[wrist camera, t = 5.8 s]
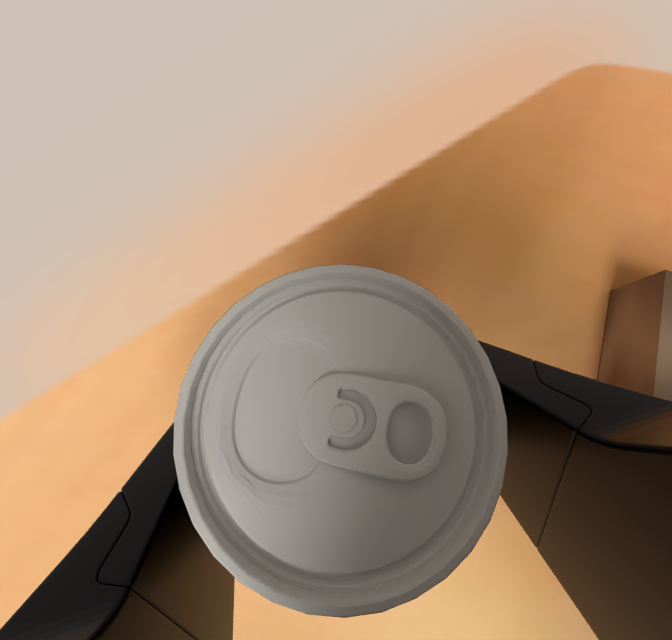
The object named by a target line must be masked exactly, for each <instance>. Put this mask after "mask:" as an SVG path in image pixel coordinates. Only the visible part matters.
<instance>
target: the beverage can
mask: <svg viewBox="0 0 672 640" xmlns="http://www.w3.org/2000/svg"><path fill="white" fill-rule="evenodd" d="M173 455H174V461H175V466H176V472H177V478H178V483H179V489H180V492H181V495H182V497H183V500H184V503H185V505H186V508H187V510H188V513H189V516H190V518H191V521H192V523H193V526H194V527H195V529H196V530H197V532H198V533H199V535H200V536H201V538H202V539H203V541H204V542H205V544H206V545H207V547H208V549H209V550H210V552H211V553H212V555H213V556H214V557H215V558H216V559H217V560H218V561H219V562H220V563H221V564H222V565H223V566H224V567H225V568H226V569H227V570H228V571H229V572H230V573H231V574H232V575H233V576H234V577H235V578H236V579H237V580H238V581H239V582H240V583H242V584H243V585H245V586H247V587H248V588H250V589H252V590H253V591H255V592H257V593H258V594H260V595H262V596H263V597H265V598H266V599H268V600H270V601H271V602H274V603H277V604H279V605H282V606H285V607H288V608H291V609H294V610H297V611H300V612H303V613H305V614H310V615H321V616H332V617H343V618H346V617H353V616H360V615H367V614H374V613H381V612H384V611H386V610H389V609H391V608H394V607H396V606H399V605H401V604H404V603H406V602H409V601H411V600H414V599H416V598H417V597H419V596H420V595H422V594H423V593H425V592H426V591H428V590H429V589H431V588H432V587H434V586H435V585H437V584H438V583H440V582H441V581H443V580H444V579H446V578H447V577H448V576H449V575H450V574H451V573H452V572H453V571H454V570H455V569H456V567H457V566H458V565H459V564H460V563H461V562H462V561H463V560H464V559H465V558H466V557H467V556H468V555H469V554H470V553H471V551H472V550H473V548H474V547H475V545H476V543H477V542H478V540H479V538H480V537H481V535H482V533H483V532H484V530H485V529H486V527H487V525H488V524H489V522H490V520H491V517H492V514H493V512H494V509H495V506H496V503H497V501H498V498H499V495H500V492H501V490H502V486H503V480H504V474H505V467H506V461H507V455H508V443H507V417H506V413H505V408H504V403H503V399H502V394H501V389H500V386H499V383H498V381H497V378H496V376H495V373H494V371H493V368H492V366H491V363H490V361H489V359H488V356H487V355H486V353H485V352H484V350H483V348H482V347H481V345H480V344H479V342H478V341H477V339H476V337H475V336H474V334H473V333H472V331H471V330H470V329H469V328H468V326H467V325H466V324H465V323H464V322H463V321H462V320H461V319H460V318H459V317H458V315H457V314H456V313H455V312H454V311H453V310H452V309H451V308H450V307H449V306H448V305H446V304H445V303H444V302H442V301H441V300H440V299H438V298H437V297H436V296H434V295H433V294H432V293H431V292H429V291H428V290H427V289H425V288H423V287H421V286H419V285H417V284H415V283H413V282H411V281H409V280H407V279H405V278H403V277H401V276H399V275H395V274H392V273H389V272H385V271H382V270H379V269H375V268H371V267H363V266H354V265H345V264H342V265H328V266H314V267H311V268H307V269H303V270H299V271H295V272H291V273H287V274H285V275H283V276H280V277H278V278H276V279H274V280H272V281H270V282H268V283H265V284H263V285H261V286H259V287H258V288H256V289H255V290H253V291H252V292H251V293H249V294H248V295H246V296H245V297H244V298H242V299H241V300H240V301H238V302H237V303H235V304H234V305H233V306H232V307H231V308H230V309H229V310H228V311H227V312H226V313H225V314H224V315H223V316H222V318H221V319H220V320H219V321H218V322H217V323H216V324H215V325H214V326H213V327H212V328H211V330H210V331H209V333H208V334H207V336H206V337H205V339H204V341H203V342H202V344H201V345H200V347H199V348H198V350H197V351H196V353H195V354H194V357H193V359H192V361H191V364H190V366H189V368H188V371H187V373H186V376H185V378H184V380H183V383H182V385H181V390H180V394H179V399H178V403H177V408H176V413H175V417H174V450H173Z"/></svg>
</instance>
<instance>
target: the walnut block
mask: <svg viewBox="0 0 672 640" xmlns="http://www.w3.org/2000/svg"><path fill="white" fill-rule="evenodd" d="M598 381H602V382H605V383H609V384H612V385H616V386H619V387H623V388H626V389H630V390H634V391H637V392H641V393H644V394H648V395H651V396H655V397H658V398H662V399H666V400H670V401H672V272H671V271H668V270H664V271H662V272H659V273H657V274H654V275H651V276H649V277H646V278H643V279H641V280H638V281H636V282H633V283H630V284H628V285H625V286H622V287H620V288H617V289H615V290H612V291H611V292H610V299H609V306H608V313H607V320H606V327H605V334H604V340H603V347H602V354H601V361H600V368H599V375H598Z"/></svg>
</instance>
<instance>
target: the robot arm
mask: <svg viewBox="0 0 672 640" xmlns="http://www.w3.org/2000/svg"><path fill="white" fill-rule="evenodd" d="M477 341H478V342H479V344H480V345H481V347H482V348H483V350H484V352H485V353H486V355H487V356H488V359H489V361H490V363H491V366H492V368H493V371H494V373H495V376H496V378H497V381H498V383H499V386H500V389H501V394H502V399H503V403H504V408H505V413H506V417H507V443H508V455H507V461H506V467H505V474H504V480H503V486H502V490H501V492H500V496H501V497H502V498H503V500H504V501H505V503H506V504H507V506H508V507H509V509H510V510H511V512H512V513H513V515H514V516H515V517H516V519H517V520H518V522H519V523H520V525H521V526H522V528H523V529H524V531H525V532H526V533H527V535H528V536H529V538H530V539H531V541H532V542H533V544H534V545H535V547H537V550H538V551H539V553H540V554H541V556H542V557H543V559H544V560H545V562H546V563H547V565H548V566H549V567H550V569H551V570H552V572H553V573H554V575H555V576H556V578H557V579H558V581H559V582H560V584H561V585H562V586H563V588H564V589H565V591H566V592H567V594H568V595H569V597H570V598H571V600H572V601H573V603H574V604H575V605H576V607H577V608H578V610H579V611H580V613H581V614H582V616H583V617H584V619H585V620H586V622H587V623H588V624H589V626H590V627H591V629H592V630H593V632H594V633H595V635H596V636H597V638H598V639H599V640H672V401H670V400H666V399H662V398H658V397H655V396H651V395H648V394H644V393H641V392H637V391H634V390H630V389H626V388H623V387H619V386H616V385H612V384H609V383H605V382H602V381H598V380H595V379H591V378H588V377H585V376H581V375H578V374H574V373H571V372H568V371H565V370H562V369H559V368H556V367H553V366H550V365H547V364H544V363H542V362H539V361H536V360H534V361H533V360H532V359H530V358H527V357H524V356H521V355H518V354H516V353H513V352H510V351H507V350H504V349H501V348H499V347H496V346H493V345H490V344H487V343H484V342H481V341H479V340H477ZM173 450H174V422H173V424H172V425H171V426H170V428H169V429H168V430H167V431H166V433H165V434H164V435H163V436H162V438H161V439H160V440H159V442H158V443H157V444H156V445H155V447H154V448H153V449H152V450H151V452H150V453H149V454H148V456H147V457H146V458H145V459H144V461H143V462H142V463H141V464H140V466H139V467H138V468H137V470H136V471H135V472H134V473H133V475H132V476H131V477H130V478H129V480H128V481H127V482H126V484H125V485H124V486H123V487H122V489H121V491H122V492H118V494H117V495H116V496H115V497H114V499H113V500H112V501H111V502H110V504H109V505H108V506H107V508H106V509H105V510H104V511H103V512H102V514H101V515H100V516H99V517H98V519H97V520H96V521H95V522H94V523H93V525H92V526H91V527H90V528H89V530H88V531H87V532H86V533H85V534H84V535H83V537H82V538H81V539H80V540H79V541H78V542H77V544H76V545H75V546H74V547H73V548H72V549H71V550H70V552H69V553H68V554H67V555H66V556H65V557H64V559H63V560H62V561H61V562H60V563H59V564H58V565H57V566H56V568H55V569H54V570H53V571H52V572H51V573H50V574H49V575H48V577H47V578H46V579H45V580H44V581H43V582H42V583H41V584H40V585H39V587H38V588H37V589H36V590H35V591H34V592H33V593H32V594H31V596H30V597H29V598H28V599H27V600H26V601H25V602H24V603H23V605H22V606H21V607H20V608H19V609H18V610H17V611H16V612H15V613H14V615H13V616H12V617H11V618H10V619H9V620H8V621H7V622H6V624H5V625H4V626H3V627H2V628H1V629H0V640H233V610H234V576H233V575H232V574H231V573H230V572H229V571H228V570H227V569H226V568H225V567H224V566H223V565H222V564H221V563H220V562H219V561H218V560H217V559H216V558H215V557H214V556H213V555H212V553H211V552H210V550H209V549H208V547H207V545H206V544H205V542H204V541H203V539H202V538H201V536H200V535H199V533H198V532H197V530H196V529H195V527H194V526H193V523H192V521H191V518H190V516H189V513H188V510H187V508H186V505H185V503H184V500H183V497H182V495H181V492H180V489H179V483H178V478H177V472H176V466H175V461H174V455H173Z"/></svg>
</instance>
